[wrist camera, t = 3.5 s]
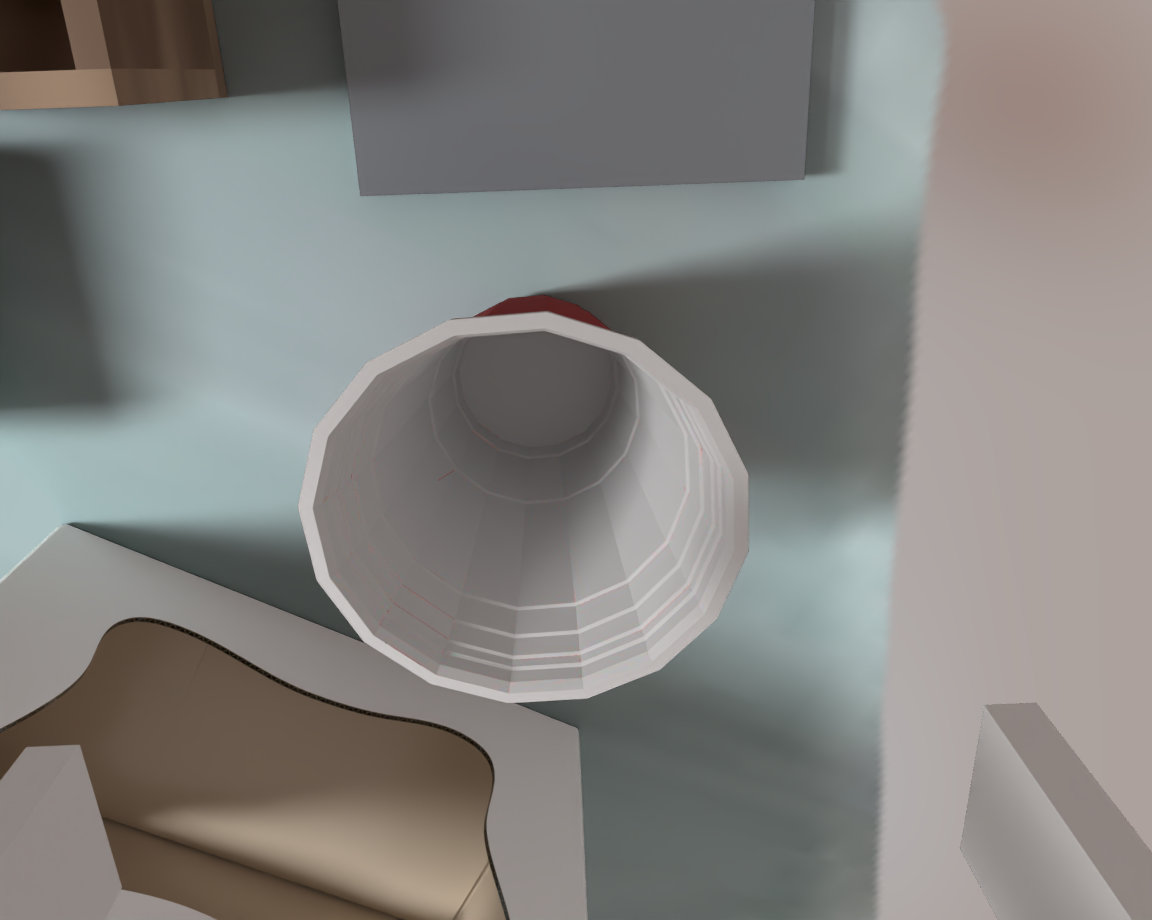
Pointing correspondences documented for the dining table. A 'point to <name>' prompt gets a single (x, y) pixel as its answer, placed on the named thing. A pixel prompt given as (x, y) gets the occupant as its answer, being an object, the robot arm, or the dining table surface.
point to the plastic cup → (525, 505)
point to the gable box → (279, 755)
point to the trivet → (575, 92)
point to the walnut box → (107, 53)
